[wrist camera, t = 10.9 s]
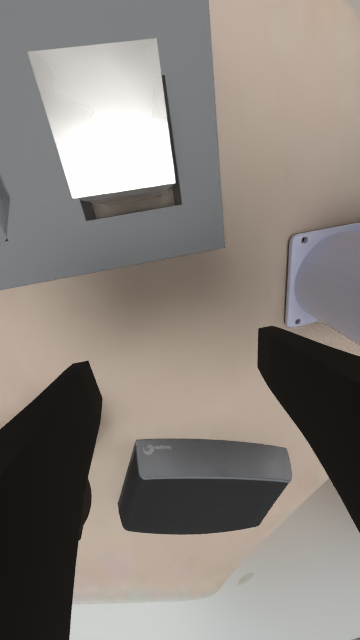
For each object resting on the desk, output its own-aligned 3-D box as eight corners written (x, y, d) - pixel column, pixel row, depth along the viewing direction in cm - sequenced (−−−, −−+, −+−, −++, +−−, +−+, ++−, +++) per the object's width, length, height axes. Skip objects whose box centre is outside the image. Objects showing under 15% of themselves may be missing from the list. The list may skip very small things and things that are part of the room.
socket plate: (192, 28, 12) (207, -24, 10) (211, 242, 17) (225, 247, 14) (-219, 78, 11) (-339, 33, 8) (-72, 294, 16) (-116, 311, 13)
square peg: (149, 129, 14) (156, 38, 7) (160, 196, 15) (175, 183, 8) (88, 137, 13) (27, 51, 6) (105, 205, 15) (72, 198, 8)
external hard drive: (137, 430, 25) (136, 467, 21) (287, 441, 30) (308, 473, 26) (116, 502, 30) (113, 543, 26) (248, 501, 34) (261, 536, 31)
